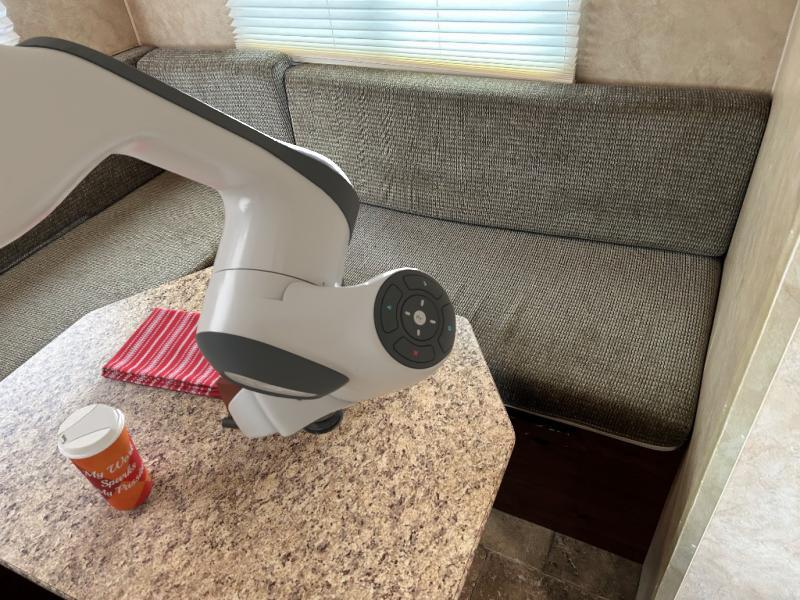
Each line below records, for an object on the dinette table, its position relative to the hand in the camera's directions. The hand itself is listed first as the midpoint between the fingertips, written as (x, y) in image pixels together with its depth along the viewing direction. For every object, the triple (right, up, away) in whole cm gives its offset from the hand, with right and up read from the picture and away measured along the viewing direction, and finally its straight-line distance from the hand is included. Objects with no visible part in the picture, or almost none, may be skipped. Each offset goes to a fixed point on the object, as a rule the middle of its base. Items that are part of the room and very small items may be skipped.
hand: (307, 375), depth 68 cm
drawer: (-8, -7, +22) cm, 25 cm away
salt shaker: (+1, -5, +4) cm, 7 cm away
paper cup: (-26, -17, +14) cm, 34 cm away
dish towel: (-25, -1, +34) cm, 42 cm away
